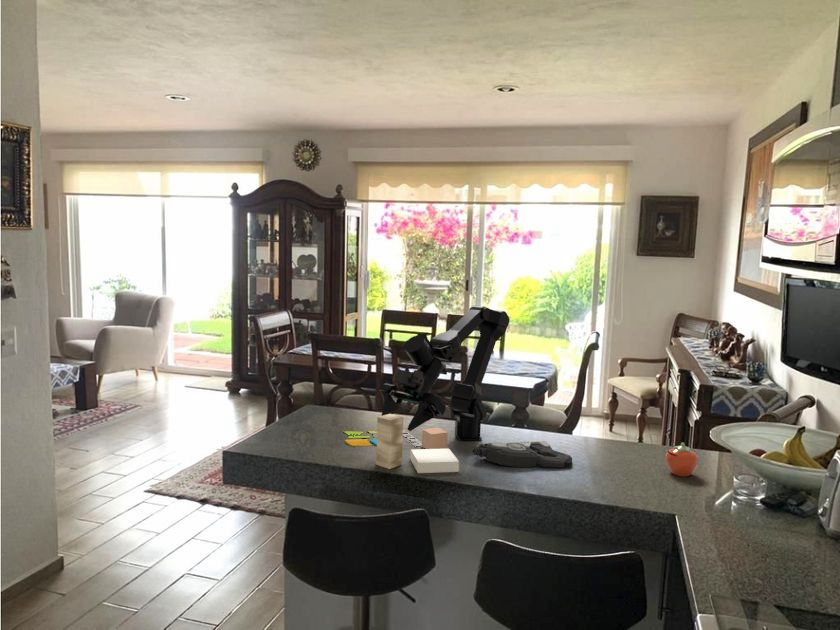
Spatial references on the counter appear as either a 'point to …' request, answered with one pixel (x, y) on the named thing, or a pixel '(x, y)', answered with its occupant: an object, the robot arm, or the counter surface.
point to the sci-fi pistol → (523, 454)
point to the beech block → (389, 441)
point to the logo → (365, 441)
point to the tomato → (681, 460)
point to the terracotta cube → (434, 438)
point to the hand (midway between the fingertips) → (394, 426)
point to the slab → (434, 460)
